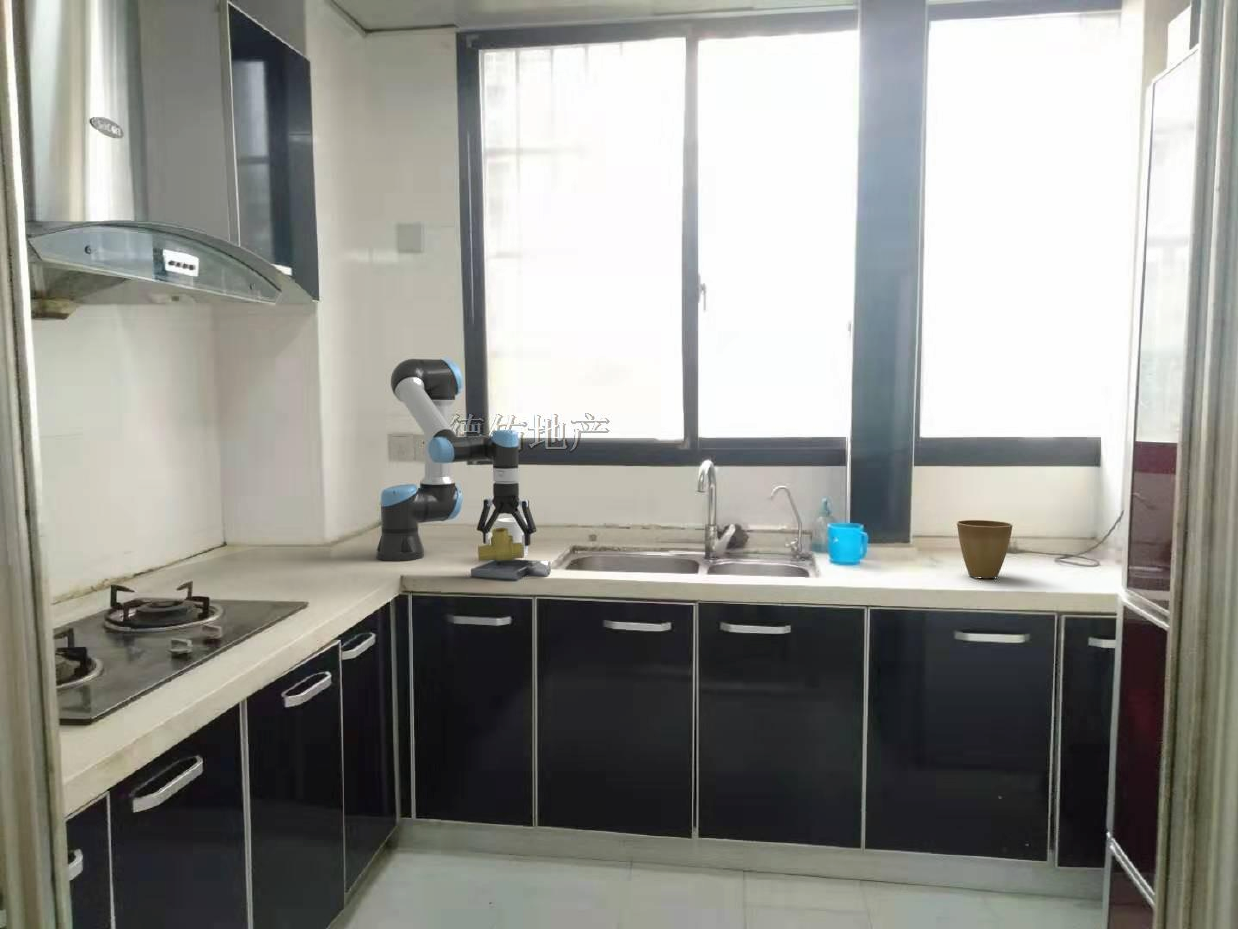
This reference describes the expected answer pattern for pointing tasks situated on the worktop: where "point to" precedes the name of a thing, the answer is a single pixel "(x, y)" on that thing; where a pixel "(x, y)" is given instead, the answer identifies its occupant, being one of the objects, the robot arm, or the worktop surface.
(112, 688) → the worktop surface
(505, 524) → the foam cup
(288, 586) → the worktop surface
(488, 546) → the ball valve
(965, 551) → the plant pot
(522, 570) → the fitting cradle
